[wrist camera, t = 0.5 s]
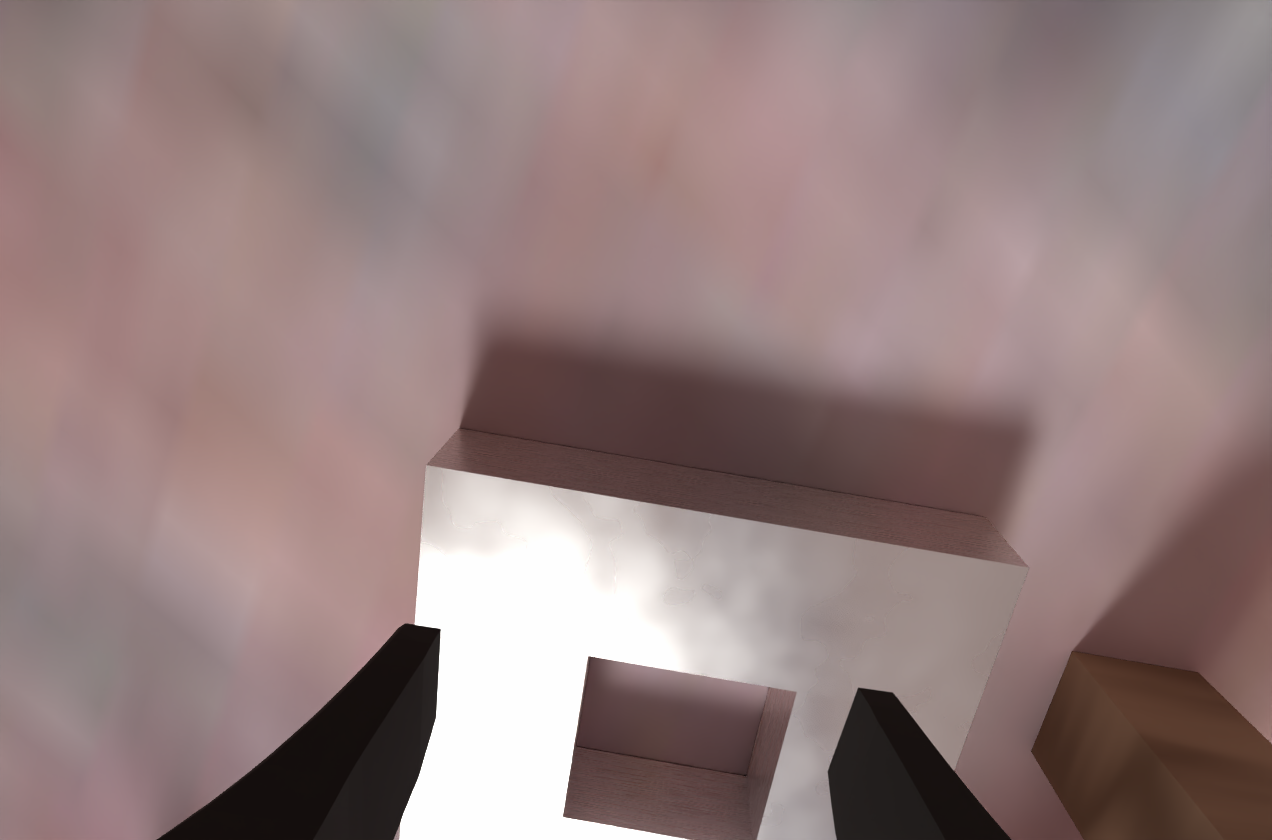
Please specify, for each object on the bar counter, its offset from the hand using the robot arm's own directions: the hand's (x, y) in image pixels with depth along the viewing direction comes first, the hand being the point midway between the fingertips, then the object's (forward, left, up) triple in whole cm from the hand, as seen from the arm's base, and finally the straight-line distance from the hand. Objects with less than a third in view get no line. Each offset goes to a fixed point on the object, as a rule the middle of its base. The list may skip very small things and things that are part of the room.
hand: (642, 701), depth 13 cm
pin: (-6, -16, -10) cm, 20 cm away
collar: (-8, -2, -10) cm, 13 cm away
